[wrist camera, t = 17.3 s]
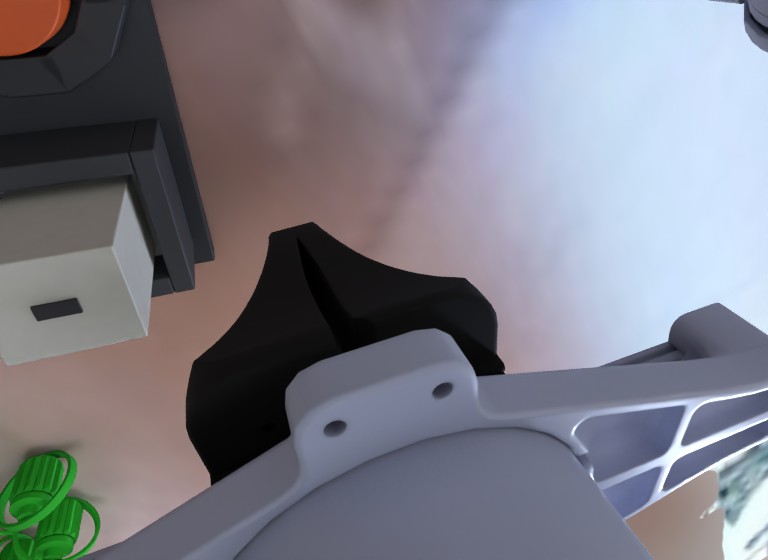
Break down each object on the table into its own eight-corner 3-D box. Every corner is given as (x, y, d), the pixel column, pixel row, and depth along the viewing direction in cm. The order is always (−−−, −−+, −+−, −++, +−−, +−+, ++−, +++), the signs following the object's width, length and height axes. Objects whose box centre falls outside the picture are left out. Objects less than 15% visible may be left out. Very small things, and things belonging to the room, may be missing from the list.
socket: (159, 109, 20) (153, 149, 17) (193, 233, 24) (195, 289, 20) (-21, 129, 19) (-73, 177, 15) (44, 258, 22) (14, 325, 18)
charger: (129, 169, 18) (112, 247, 14) (155, 246, 20) (148, 338, 16) (8, 185, 17) (-56, 276, 13) (48, 265, 19) (5, 369, 15)
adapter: (103, -184, 16) (89, -207, 13) (214, 248, 25) (217, 280, 22) (-214, -195, 13) (-297, -224, 11) (35, 280, 23) (18, 319, 20)
